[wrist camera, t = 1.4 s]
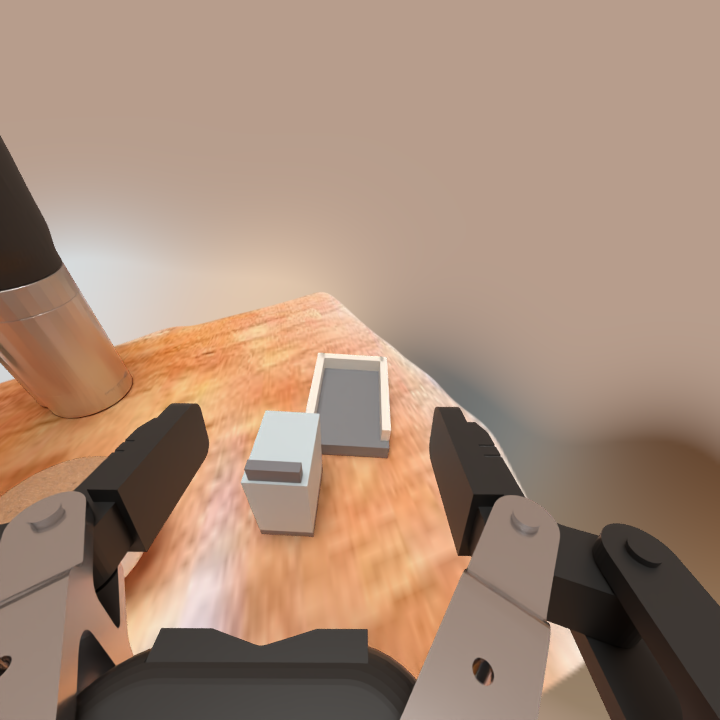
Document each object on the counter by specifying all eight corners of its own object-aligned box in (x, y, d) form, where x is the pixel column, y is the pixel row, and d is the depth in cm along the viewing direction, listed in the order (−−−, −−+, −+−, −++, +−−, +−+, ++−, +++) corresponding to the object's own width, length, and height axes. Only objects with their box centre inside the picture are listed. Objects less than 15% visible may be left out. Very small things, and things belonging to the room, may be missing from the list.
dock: (303, 453, 36) (302, 443, 35) (319, 372, 47) (318, 363, 46) (387, 457, 36) (389, 448, 35) (384, 376, 47) (385, 367, 46)
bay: (303, 435, 36) (302, 425, 34) (318, 363, 46) (318, 352, 44) (388, 440, 36) (390, 430, 34) (385, 367, 46) (386, 357, 44)
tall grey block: (261, 533, 29) (236, 471, 22) (278, 467, 35) (263, 398, 27) (313, 536, 29) (305, 475, 22) (322, 470, 35) (319, 402, 27)
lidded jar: (192, 504, 31) (158, 453, 25) (117, 646, 23) (39, 621, 17) (93, 490, 32) (36, 436, 26) (-14, 623, 24) (-136, 591, 17)
